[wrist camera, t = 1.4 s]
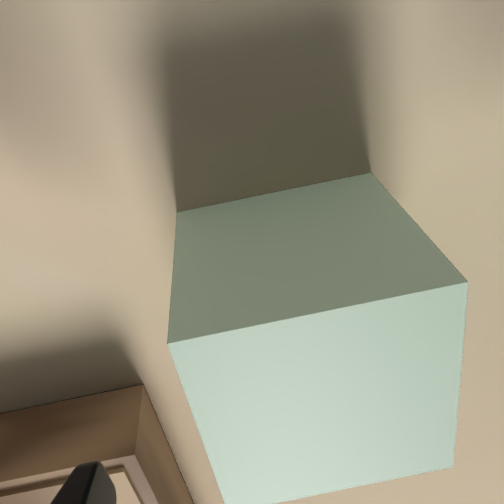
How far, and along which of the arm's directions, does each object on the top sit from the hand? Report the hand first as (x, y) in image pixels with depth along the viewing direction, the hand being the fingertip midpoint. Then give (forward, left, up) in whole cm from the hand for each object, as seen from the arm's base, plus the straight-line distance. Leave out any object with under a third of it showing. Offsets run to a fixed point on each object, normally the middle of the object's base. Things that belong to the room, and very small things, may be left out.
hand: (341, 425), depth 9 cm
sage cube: (0, 0, -5) cm, 5 cm away
